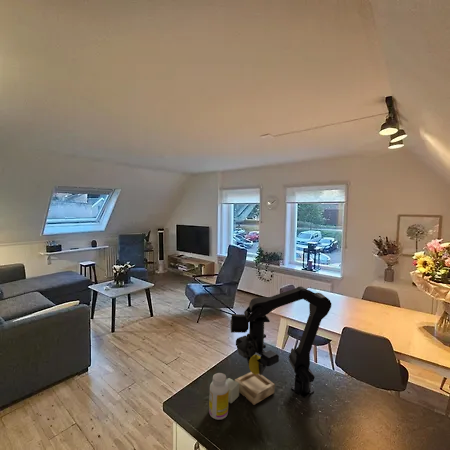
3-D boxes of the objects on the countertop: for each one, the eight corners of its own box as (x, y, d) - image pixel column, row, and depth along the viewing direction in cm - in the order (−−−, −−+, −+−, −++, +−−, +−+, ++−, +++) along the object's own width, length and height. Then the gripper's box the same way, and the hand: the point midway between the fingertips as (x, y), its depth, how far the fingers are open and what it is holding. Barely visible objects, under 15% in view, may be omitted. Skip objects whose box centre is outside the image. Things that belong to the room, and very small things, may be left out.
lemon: (261, 370, 102) (261, 351, 102) (263, 379, 97) (264, 358, 97) (247, 370, 102) (248, 350, 102) (249, 379, 97) (250, 358, 96)
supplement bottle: (231, 410, 89) (232, 375, 88) (221, 423, 83) (223, 386, 83) (215, 403, 92) (216, 368, 92) (205, 415, 87) (206, 378, 86)
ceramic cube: (228, 390, 100) (228, 377, 99) (238, 396, 96) (239, 383, 96) (220, 397, 96) (221, 384, 95) (231, 403, 92) (231, 390, 92)
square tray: (254, 377, 107) (254, 369, 107) (274, 392, 99) (274, 384, 99) (234, 388, 101) (235, 379, 101) (253, 405, 92) (254, 395, 92)
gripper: (225, 328, 101) (224, 366, 102) (258, 348, 86) (257, 392, 87) (246, 321, 108) (245, 357, 109) (280, 339, 93) (278, 380, 94)
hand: (255, 370), depth 99 cm, fingers closed on lemon, 5 cm apart
